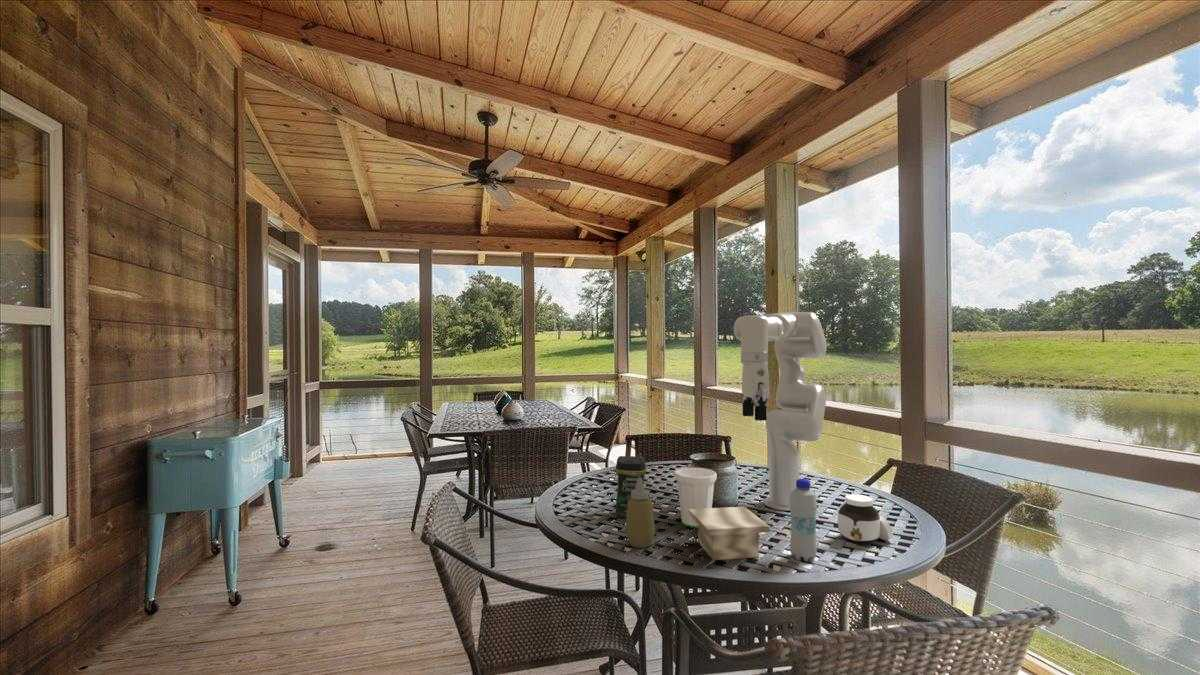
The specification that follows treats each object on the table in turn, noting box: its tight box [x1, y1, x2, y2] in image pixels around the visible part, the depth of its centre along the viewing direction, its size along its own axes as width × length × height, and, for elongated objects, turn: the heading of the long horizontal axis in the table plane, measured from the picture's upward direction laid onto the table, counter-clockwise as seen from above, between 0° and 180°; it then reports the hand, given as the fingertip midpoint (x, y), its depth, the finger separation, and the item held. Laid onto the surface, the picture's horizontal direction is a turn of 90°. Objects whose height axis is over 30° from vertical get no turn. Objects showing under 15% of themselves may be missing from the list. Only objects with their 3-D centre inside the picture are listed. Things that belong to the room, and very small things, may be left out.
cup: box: [674, 467, 718, 529], centre depth 164 cm, size 12×12×15 cm
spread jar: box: [837, 494, 894, 546], centre depth 150 cm, size 12×11×12 cm
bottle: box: [789, 478, 818, 562], centre depth 138 cm, size 7×7×20 cm
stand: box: [689, 506, 770, 561], centre depth 143 cm, size 16×16×8 cm
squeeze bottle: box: [624, 478, 656, 549], centre depth 148 cm, size 8×8×18 cm
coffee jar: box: [615, 455, 647, 519], centre depth 172 cm, size 10×8×19 cm
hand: (754, 418), depth 156 cm, fingers open, 9 cm apart
